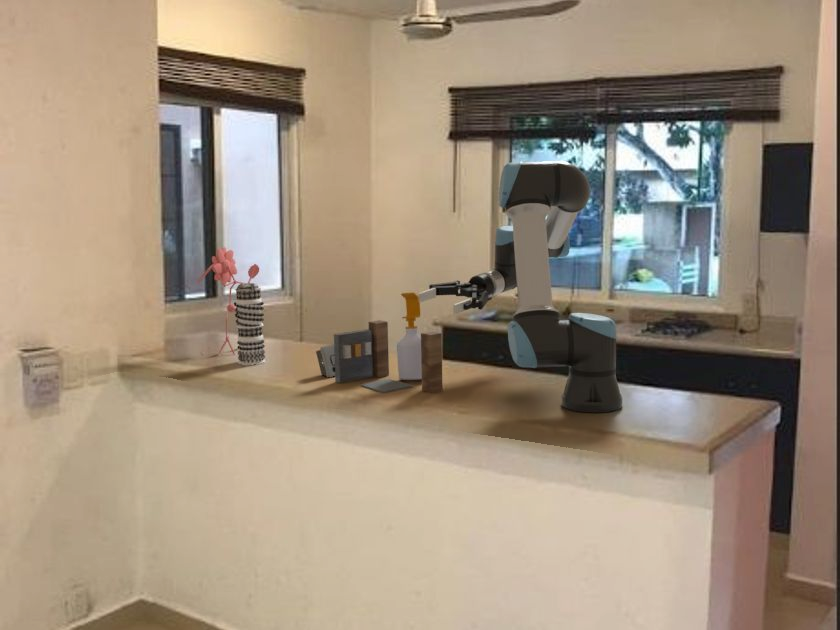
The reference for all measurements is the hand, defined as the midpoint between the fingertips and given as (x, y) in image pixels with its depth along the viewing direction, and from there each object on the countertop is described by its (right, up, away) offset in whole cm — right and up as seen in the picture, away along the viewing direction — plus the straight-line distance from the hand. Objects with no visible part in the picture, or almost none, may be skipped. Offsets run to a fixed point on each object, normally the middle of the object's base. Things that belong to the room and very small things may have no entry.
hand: (436, 303), depth 267 cm
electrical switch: (-30, -21, +15) cm, 40 cm away
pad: (-14, -23, -1) cm, 27 cm away
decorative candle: (-58, -18, +34) cm, 70 cm away
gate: (-9, -22, +2) cm, 24 cm away
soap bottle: (-6, -22, +4) cm, 23 cm away
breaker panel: (-24, -22, +8) cm, 33 cm away
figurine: (-69, -15, +53) cm, 89 cm away
